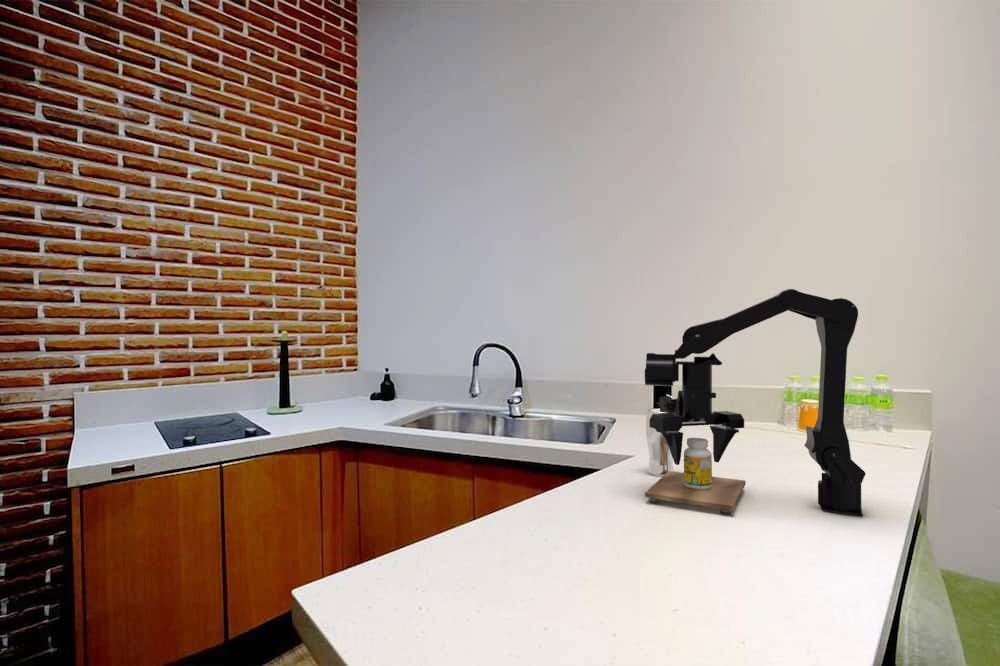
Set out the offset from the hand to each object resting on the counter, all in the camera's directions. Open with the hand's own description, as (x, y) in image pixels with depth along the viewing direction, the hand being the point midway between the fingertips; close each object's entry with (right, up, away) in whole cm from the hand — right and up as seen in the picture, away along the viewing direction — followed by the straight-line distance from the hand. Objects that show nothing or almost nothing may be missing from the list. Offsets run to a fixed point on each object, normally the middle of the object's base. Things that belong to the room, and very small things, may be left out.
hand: (696, 463), depth 110 cm
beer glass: (-2, -7, +18) cm, 20 cm away
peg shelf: (0, -7, 0) cm, 7 cm away
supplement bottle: (0, -5, 0) cm, 5 cm away
